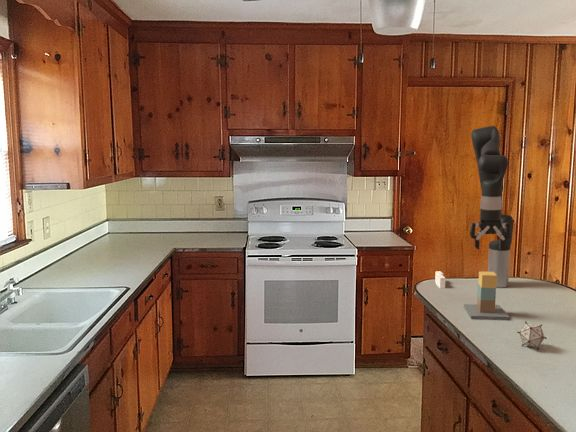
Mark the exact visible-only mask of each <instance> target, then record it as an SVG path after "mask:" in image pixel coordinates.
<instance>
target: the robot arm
mask: <svg viewBox="0 0 576 432" xmlns="http://www.w3.org/2000/svg"><path fill="white" fill-rule="evenodd" d="M470 136H471V142H472V147H473V150H474V154H475V155H474V156H475V160H476V164H477V168H478V170H477V171H478V176H479V177H478V178H479V184H480V189H481V198H480V205H479V208H480V210H479V211H480V212H479V222H475V221H472V222H470V229H469V230H470V231H469V238H471V239H473V240H474V248H475V249H476V250H480V239H481V238H482V237H483V236H484V235H495V234H496V235H497V236H498V237H499V238H498V239H496V240H492V241H490V242H489V243H488V253H487V254H488V257H487V272H494V273H495V274H496V275H497V288H507V287H509V278H510V277H509V276H510V264H511V261H510V258H511V245H512V243H513V242H512V241H513V234H514V233H513V232H514V224H515V223H514V219H513V216H512V215H509V214H502V207H503V206H502V205H503V202H502V201H503V199H502V193H503V191H504V183H503V182H504V177H505V175H506V172H507V171H508V167H509V160H508V158H507V156H505V155H502V154H501V151H500V146H501V138H500V137H501V136H500V132H499V129H498V128H497V126H494V125H488V126H484V127H479V128H475V129H473V130H472V131H471V135H470ZM478 227H479V231H477V233H476V229H477V228H478Z"/></svg>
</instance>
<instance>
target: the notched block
mask: <svg viewBox="0 0 576 432" xmlns="http://www.w3.org/2000/svg"><path fill="white" fill-rule="evenodd" d="M434 278H435V279H434V281H435V285H436V286H437V287H438V288H439V289H446V277H445V276H444V272H442V271H440V270H439V271H438V270H436V271H435V276H434Z"/></svg>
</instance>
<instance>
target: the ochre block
mask: <svg viewBox="0 0 576 432" xmlns="http://www.w3.org/2000/svg"><path fill="white" fill-rule="evenodd" d="M478 284H479V285H480V286H481V287H482V288H496V289H497V288H498V287H497V275H496V274H495V273H494V272H488V271H478V283H477V285H478Z"/></svg>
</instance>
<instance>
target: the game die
mask: <svg viewBox="0 0 576 432" xmlns="http://www.w3.org/2000/svg"><path fill="white" fill-rule="evenodd" d="M524 323H525V324H524V326H523V327H522V328H521V329H520V331H517V332H516V333H517V334H519V336H520V339H521V342H522V344H521V347H524V346H528V347H534V348H536V349H537V350H538V351H539V350H540V348H539V346H541V344H542V342H543V341H544V340H548V338H547V337H546V336H545V335H544V332H543V329H542V327H543V323H541V324H540V325H538V324H531V323H528V322H527V321H526V320H525V321H524Z"/></svg>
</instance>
